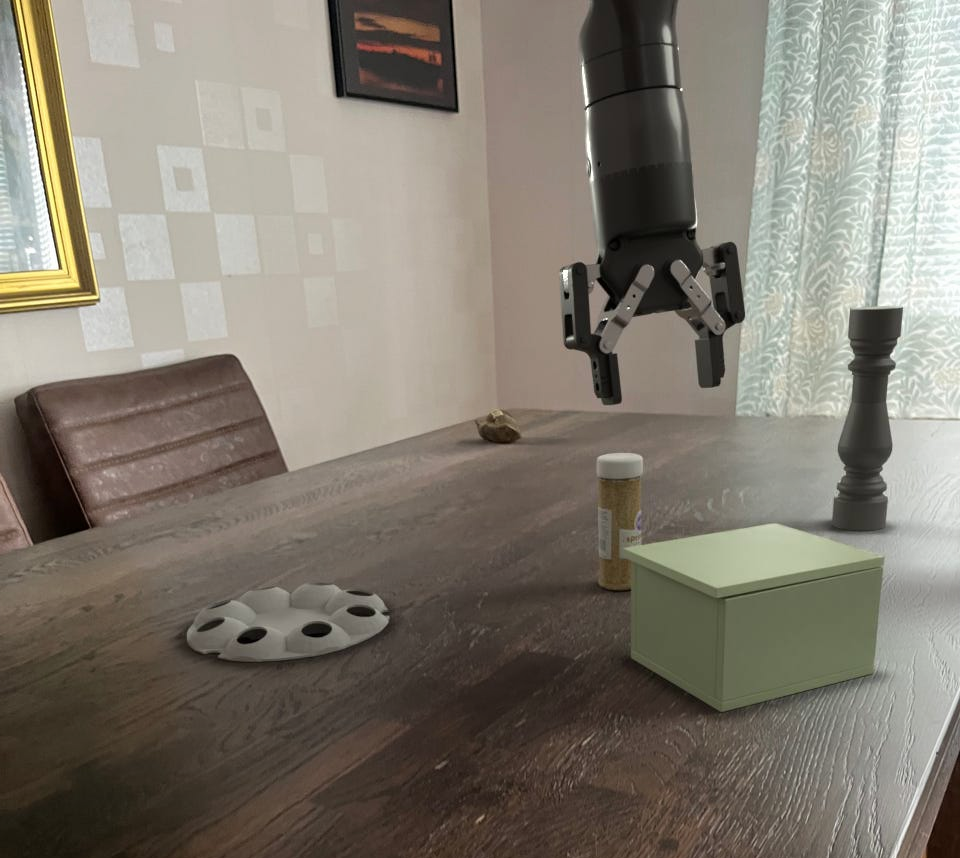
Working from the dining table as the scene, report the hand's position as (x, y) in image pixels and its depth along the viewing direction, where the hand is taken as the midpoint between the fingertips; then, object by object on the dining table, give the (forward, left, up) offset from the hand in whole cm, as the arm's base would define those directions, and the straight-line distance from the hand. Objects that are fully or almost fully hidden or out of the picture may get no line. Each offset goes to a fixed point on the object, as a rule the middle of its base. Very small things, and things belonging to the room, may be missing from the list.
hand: (662, 395), depth 77 cm
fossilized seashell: (+14, -113, -22) cm, 116 cm away
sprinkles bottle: (+1, -20, -22) cm, 30 cm away
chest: (-7, +3, -22) cm, 23 cm away
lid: (-6, +3, -13) cm, 15 cm away
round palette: (+34, -12, -22) cm, 42 cm away
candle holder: (-30, -40, -22) cm, 54 cm away
